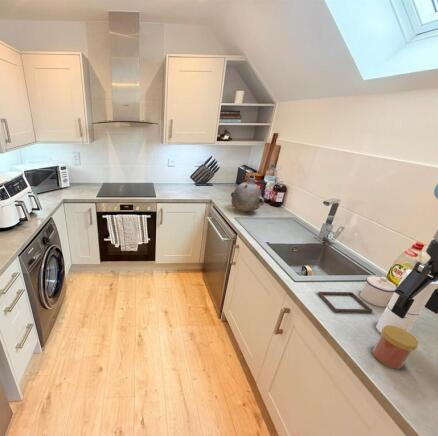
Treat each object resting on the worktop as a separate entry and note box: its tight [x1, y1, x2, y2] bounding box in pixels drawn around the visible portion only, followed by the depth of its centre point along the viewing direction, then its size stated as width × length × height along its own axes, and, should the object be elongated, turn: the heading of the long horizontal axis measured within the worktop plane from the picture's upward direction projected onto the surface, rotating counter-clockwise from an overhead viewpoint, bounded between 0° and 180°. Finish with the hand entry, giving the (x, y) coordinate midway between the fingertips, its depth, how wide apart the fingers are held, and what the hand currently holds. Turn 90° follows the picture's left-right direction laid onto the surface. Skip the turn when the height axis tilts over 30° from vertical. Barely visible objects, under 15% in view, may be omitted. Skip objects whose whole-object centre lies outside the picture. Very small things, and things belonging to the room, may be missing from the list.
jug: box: [230, 174, 265, 213], centre depth 184 cm, size 24×21×30 cm
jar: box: [372, 334, 413, 370], centre depth 72 cm, size 7×7×10 cm
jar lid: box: [381, 325, 419, 351], centre depth 70 cm, size 7×7×2 cm
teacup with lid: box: [359, 275, 397, 308], centre depth 97 cm, size 12×9×12 cm
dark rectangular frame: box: [317, 291, 373, 314], centre depth 96 cm, size 14×10×2 cm
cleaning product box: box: [242, 179, 268, 203], centre depth 205 cm, size 16×9×20 cm, turn 88°
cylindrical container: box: [375, 269, 438, 334], centre depth 78 cm, size 7×7×25 cm
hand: (414, 312), depth 66 cm, fingers open, 11 cm apart
